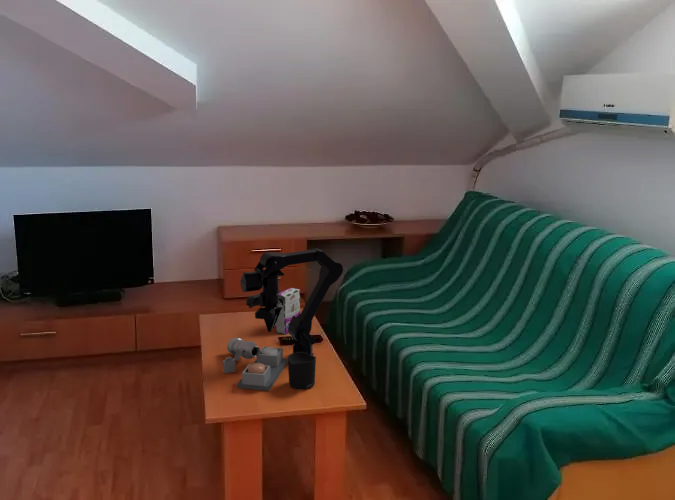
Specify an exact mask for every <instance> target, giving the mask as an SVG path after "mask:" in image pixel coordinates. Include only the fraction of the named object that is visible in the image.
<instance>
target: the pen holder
mask: <svg viewBox="0 0 675 500" xmlns="http://www.w3.org/2000/svg"><path fill="white" fill-rule="evenodd" d="M287 359H288V363H287V366H288V367H287V371H288V372H287V373H288V384H289V387H291V389H294V390H297V391H304V390H305V391H306V390H310V389H312V388H313V387H314V386H315V382H316V367H317V366H316V363H317V362H316V361H317V360H316V359H317V357H316V356H314V355H313V356H311V355H309V354H307V353H305V352H296V353H293V352H292V353H290V354H289V355H288V356H287Z"/></svg>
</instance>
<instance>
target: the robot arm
mask: <svg viewBox="0 0 675 500" xmlns="http://www.w3.org/2000/svg"><path fill="white" fill-rule="evenodd" d="M311 262H312V263H314V262H316V263H317V264H318V265H319V266H320V270H319V273H318V274H319V275H318V280H317V282H316V284H315V286H314V287H313V290H312V292H311V294H310V295H309V297H308V299H307V302H306V303H305V305H304V307H303V308H302V310H301V311H300V315H298V316H297V317H296V316H293V317H292V319H291V321H290V323H289V324H288V325H289V327H288V332H289V333H288V334H289V335H290V336H291V337H292V339H293V340H295V341H294V344H293V345H292V353H296V352H305V353H307V354H309V355H311V356H314V354H315V353H314V352H313V345H314V344H315V343H316V338H315V337H314V336H312V335H311V331H312V325H313V324H312V323H313V319H314V317H315V315H316V313H317V312H318V310H319V307H320V306H321V305H322V302H323V301H324V298H325V297H326V295H327V293H328V291H329V289H330V287H331V286H333V285H334V283H336V282H338V280H339V279H340V277H341V276H342V274H343V272H344V267H343V264H342V263H340V262H338V261H336V260H334V259H332V258H331V257H329V255H327V254H326V253H325V252H324V251H323V250H321V249H319V248H316V247H315V248H312V249H305V250H299V251H291V252H284V253H282V252H274V251H272V252H271V251H267V252H263V253H262V255H261V256H260V258H259V261H258V263H257V265H256V266H255V268H254V269H253V271H249V272H248V271H244V272H242V275H241V277H240V288H241V291H242V292H243V293H247V292H256V291H260V290H261V289H262V291H261V292H260V293H258V294H254V295H250V296H248V297H247V299H246V300H245V302H246V303H245V305H246V306H248V308H249V309H252V308H254V307H257V306H259V308H258V309H257V310H256V311H255V313H254V318H255V319H257V320H263V322H264V325H265V327H266V330H267V332H269V333H271V332H272V330H273V329H274V328H276V322H277V320H278V317H279V315H280V313H281V310H282V307H279V304H280V303H282V305H283V306H284V305H285V303H286V299H285V298H284V297H283V296H279V293H280V292H281V289H279V288H280V287H279V281H280V280H279V277H282V276H285V273H284V272H283V271H282V270H283V269H284V268H286V267H288V266H293V265H300V264H305V263H311Z"/></svg>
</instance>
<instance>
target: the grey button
mask: <svg viewBox="0 0 675 500" xmlns="http://www.w3.org/2000/svg"><path fill="white" fill-rule="evenodd" d="M276 348H277V347H273V348H264V349H263V350H262V354H264V355H275V356H276V355H277V353H278V350H277V349H276Z"/></svg>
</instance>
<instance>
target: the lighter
mask: <svg viewBox="0 0 675 500" xmlns="http://www.w3.org/2000/svg"><path fill="white" fill-rule="evenodd" d="M242 352H243V349H241V348H238V350H237V352H236V355H234V357H232V356H226V358H225V359H223V360H222V372H223V373H224V374H230V373H235V372H236V370H237V369H236V361H237V362H238V361H240V359H241V357H242V356H241V355H242Z"/></svg>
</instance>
